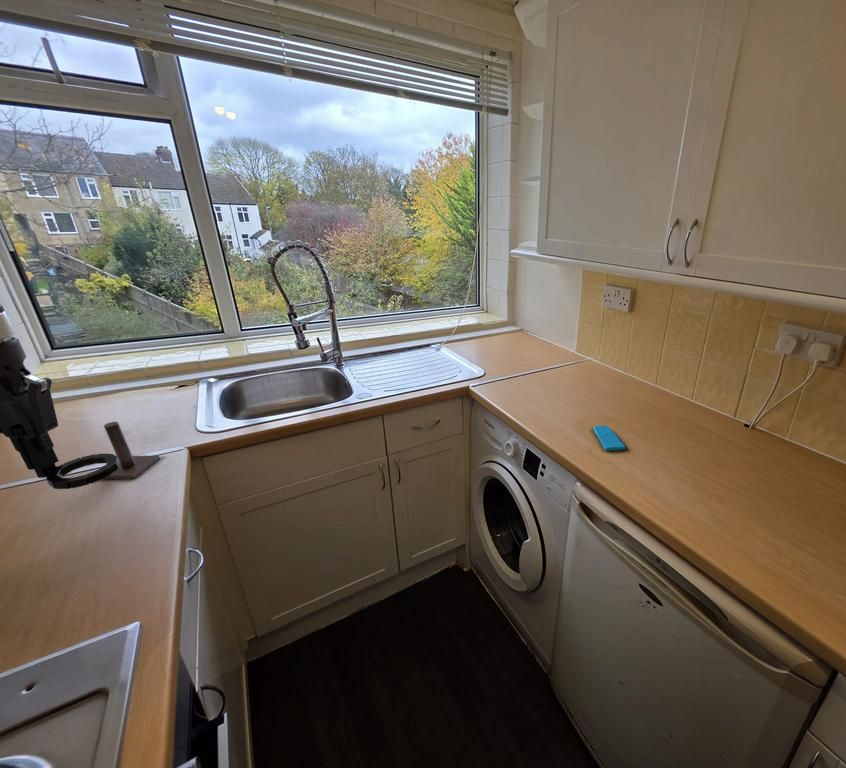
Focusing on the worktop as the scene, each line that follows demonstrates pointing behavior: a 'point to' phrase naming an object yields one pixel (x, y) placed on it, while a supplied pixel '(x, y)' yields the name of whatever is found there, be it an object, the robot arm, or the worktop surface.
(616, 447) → the sponge
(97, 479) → the ring
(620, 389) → the worktop surface
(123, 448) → the peg stand
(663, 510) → the worktop surface
